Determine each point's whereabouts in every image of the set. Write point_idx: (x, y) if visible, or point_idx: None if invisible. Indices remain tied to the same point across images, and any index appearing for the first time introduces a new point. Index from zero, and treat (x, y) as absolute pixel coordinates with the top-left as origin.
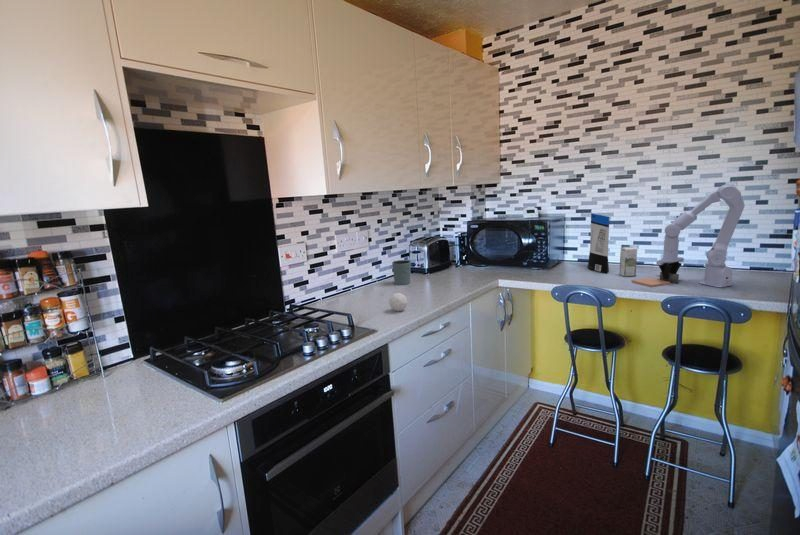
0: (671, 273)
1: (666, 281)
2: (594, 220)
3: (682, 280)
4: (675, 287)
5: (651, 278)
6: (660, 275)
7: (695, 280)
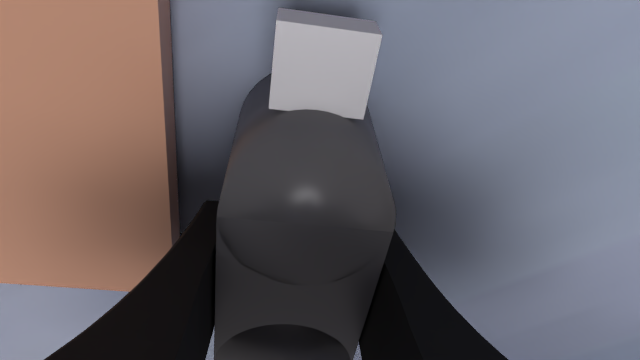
0: (309, 326)
1: (156, 263)
2: None
3: (485, 252)
4: None
5: (108, 5)
6: (230, 154)
7: (568, 314)
